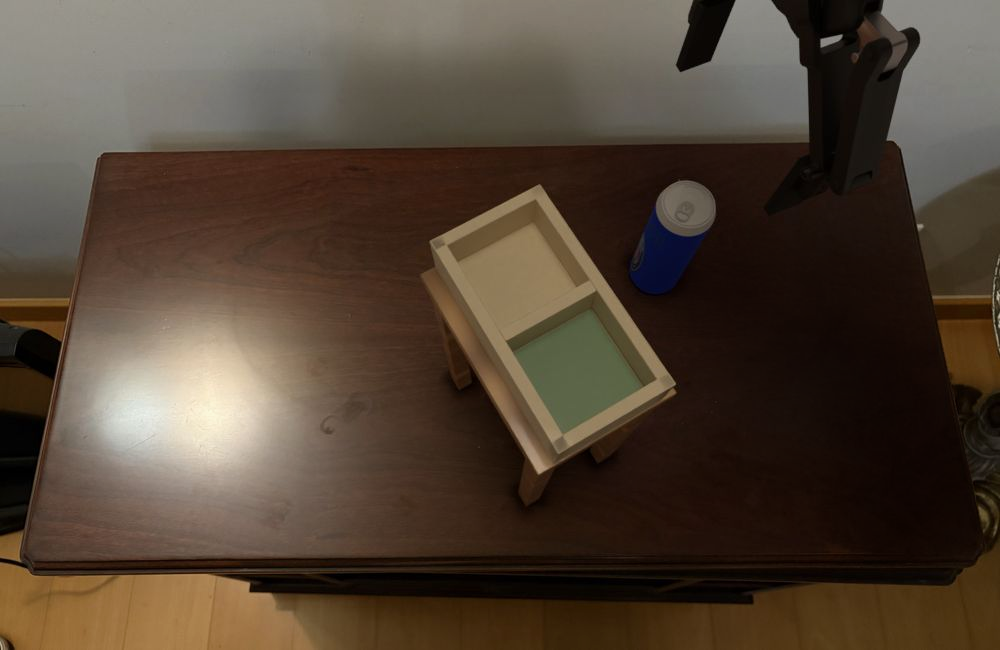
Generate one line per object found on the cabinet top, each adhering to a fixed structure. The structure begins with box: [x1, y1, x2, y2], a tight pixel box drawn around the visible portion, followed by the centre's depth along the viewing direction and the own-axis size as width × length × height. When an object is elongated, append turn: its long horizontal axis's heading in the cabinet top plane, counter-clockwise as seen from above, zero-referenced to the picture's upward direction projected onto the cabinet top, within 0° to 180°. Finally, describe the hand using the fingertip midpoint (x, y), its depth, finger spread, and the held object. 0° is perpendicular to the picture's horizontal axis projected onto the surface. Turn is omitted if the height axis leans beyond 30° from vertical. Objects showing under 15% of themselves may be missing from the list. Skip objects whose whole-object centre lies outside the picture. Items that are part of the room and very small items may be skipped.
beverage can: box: [628, 180, 717, 295], centre depth 67 cm, size 5×5×15 cm
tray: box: [429, 184, 677, 464], centre depth 43 cm, size 15×8×4 cm, turn 30°
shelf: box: [419, 266, 677, 507], centre depth 57 cm, size 15×10×26 cm, turn 30°
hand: (735, 131), depth 53 cm, fingers open, 13 cm apart
